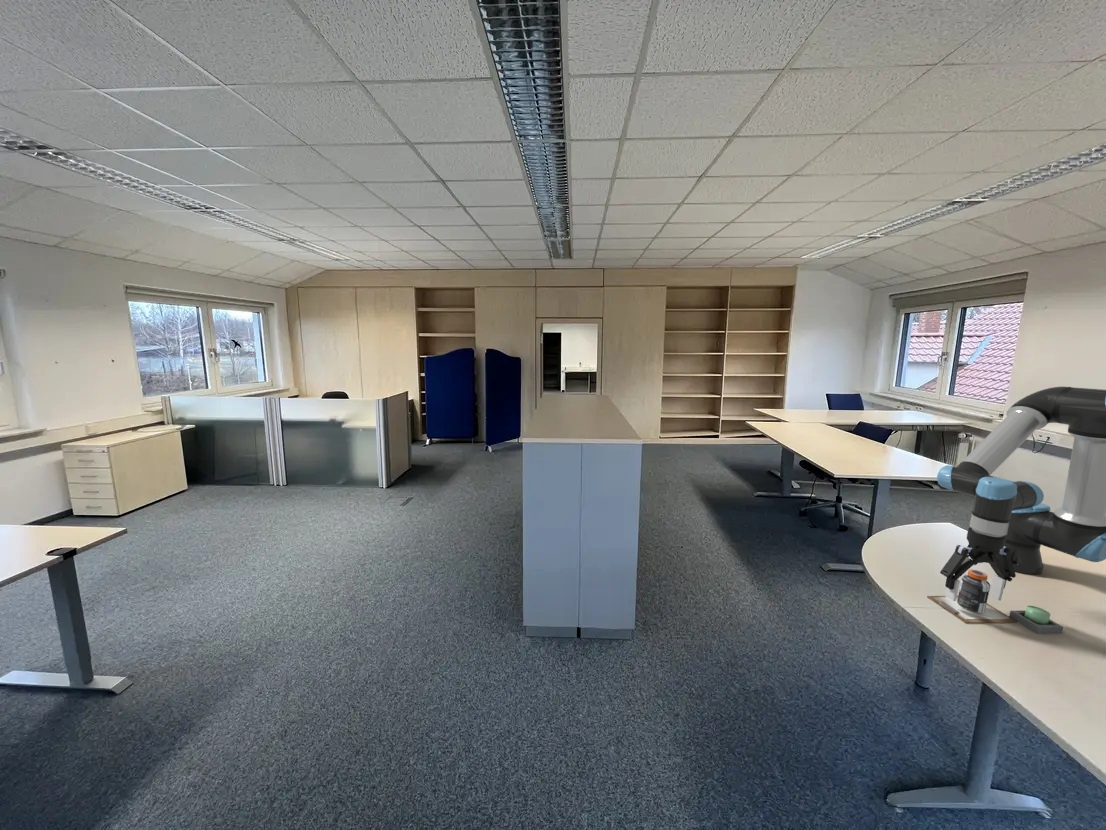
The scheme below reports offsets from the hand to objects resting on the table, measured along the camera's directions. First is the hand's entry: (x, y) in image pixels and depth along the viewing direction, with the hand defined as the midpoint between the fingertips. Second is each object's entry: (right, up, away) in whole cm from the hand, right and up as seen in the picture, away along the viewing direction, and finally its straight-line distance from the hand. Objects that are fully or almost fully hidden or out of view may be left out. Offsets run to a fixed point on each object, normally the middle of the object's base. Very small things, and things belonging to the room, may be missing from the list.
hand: (972, 598), depth 123 cm
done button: (+12, -3, -6) cm, 14 cm away
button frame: (+12, -5, -6) cm, 14 cm away
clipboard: (0, -4, +1) cm, 4 cm away
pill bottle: (0, -3, +1) cm, 3 cm away
